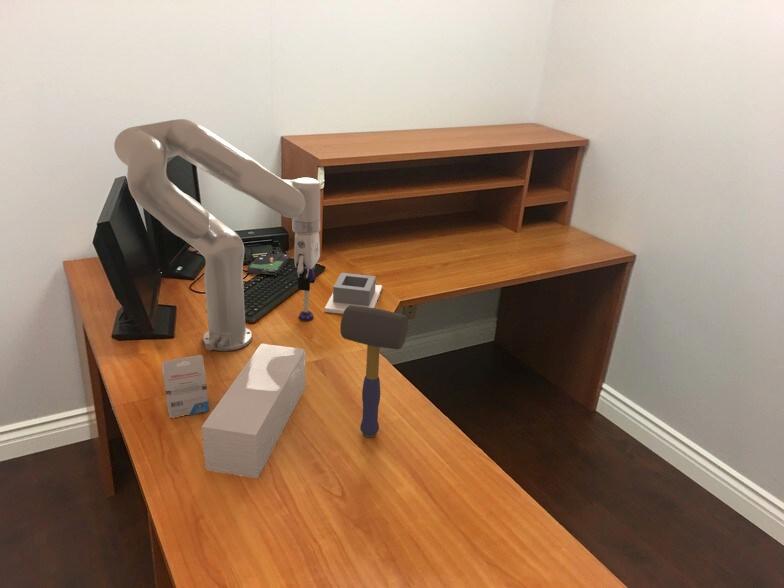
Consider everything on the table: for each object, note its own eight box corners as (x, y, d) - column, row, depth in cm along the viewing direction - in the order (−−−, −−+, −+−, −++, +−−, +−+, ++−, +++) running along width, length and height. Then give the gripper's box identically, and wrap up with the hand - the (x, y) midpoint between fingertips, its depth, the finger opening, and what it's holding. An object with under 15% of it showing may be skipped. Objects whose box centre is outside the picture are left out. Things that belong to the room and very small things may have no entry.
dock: (371, 317, 182) (371, 298, 180) (324, 311, 184) (324, 292, 181) (381, 288, 200) (382, 271, 198) (339, 284, 202) (339, 266, 199)
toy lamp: (317, 315, 181) (317, 263, 174) (311, 322, 177) (311, 269, 170) (302, 313, 182) (301, 260, 175) (295, 320, 178) (295, 266, 171)
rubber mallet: (401, 430, 136) (411, 307, 123) (391, 451, 129) (400, 324, 116) (348, 417, 139) (351, 296, 126) (335, 437, 132) (338, 312, 119)
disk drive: (262, 258, 219) (247, 274, 206) (262, 251, 218) (246, 266, 205) (290, 261, 218) (277, 277, 205) (290, 254, 217) (277, 270, 204)
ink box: (206, 399, 142) (200, 343, 136) (209, 411, 138) (204, 355, 132) (166, 406, 139) (159, 350, 133) (169, 419, 135) (161, 361, 128)
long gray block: (262, 381, 150) (261, 343, 145) (305, 387, 149) (305, 349, 144) (205, 471, 122) (201, 426, 117) (257, 479, 120) (255, 435, 116)
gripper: (311, 236, 160) (311, 300, 168) (327, 216, 175) (326, 275, 183) (283, 233, 160) (284, 297, 168) (301, 213, 176) (301, 272, 183)
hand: (306, 285), depth 175 cm, fingers closed on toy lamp, 4 cm apart
